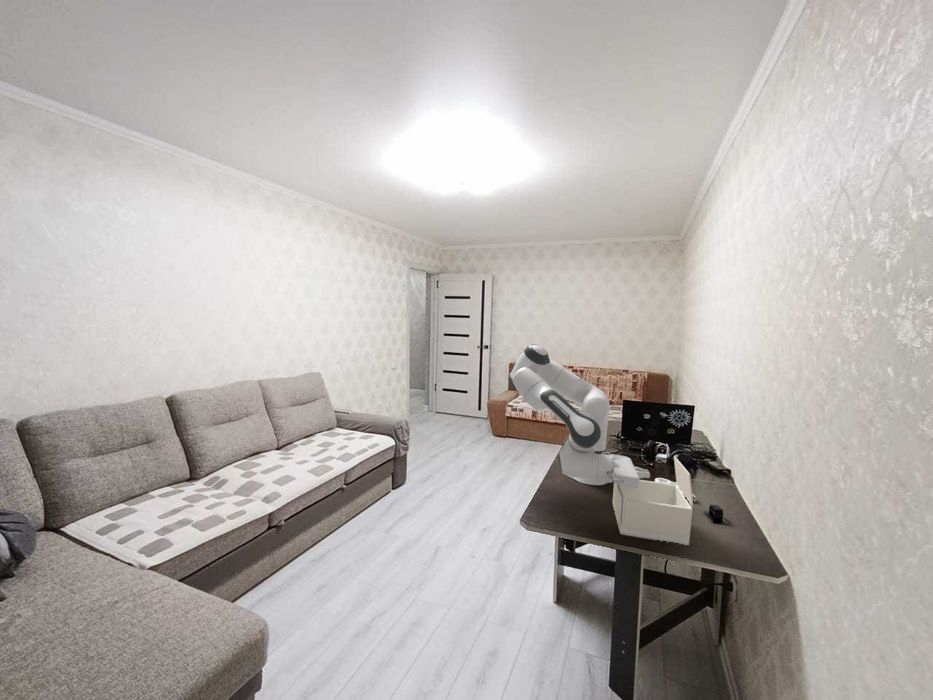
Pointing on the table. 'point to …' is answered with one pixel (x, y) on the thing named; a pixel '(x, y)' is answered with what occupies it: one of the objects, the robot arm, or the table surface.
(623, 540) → the table surface
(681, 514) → the carton
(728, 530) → the table surface
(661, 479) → the spiked knuckle duster
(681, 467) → the carton flap
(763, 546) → the table surface
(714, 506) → the black angular piece
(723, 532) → the table surface
